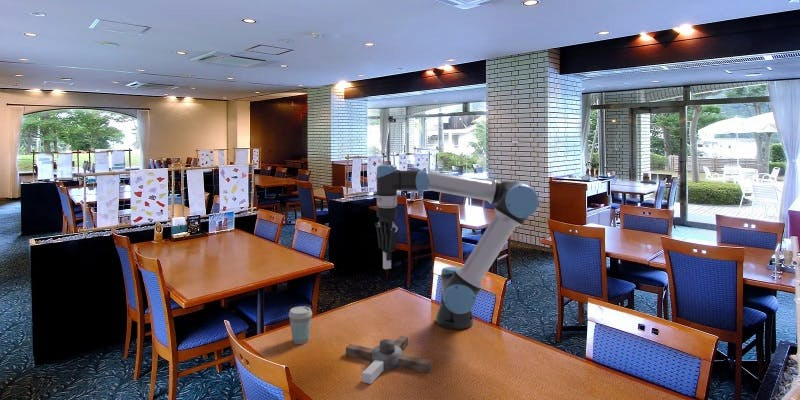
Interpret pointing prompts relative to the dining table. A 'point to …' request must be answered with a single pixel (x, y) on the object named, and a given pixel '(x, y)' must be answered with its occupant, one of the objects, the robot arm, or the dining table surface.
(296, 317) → the coffee cup
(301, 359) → the dining table surface
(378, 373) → the folding leg
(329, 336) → the dining table surface
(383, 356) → the stool base
